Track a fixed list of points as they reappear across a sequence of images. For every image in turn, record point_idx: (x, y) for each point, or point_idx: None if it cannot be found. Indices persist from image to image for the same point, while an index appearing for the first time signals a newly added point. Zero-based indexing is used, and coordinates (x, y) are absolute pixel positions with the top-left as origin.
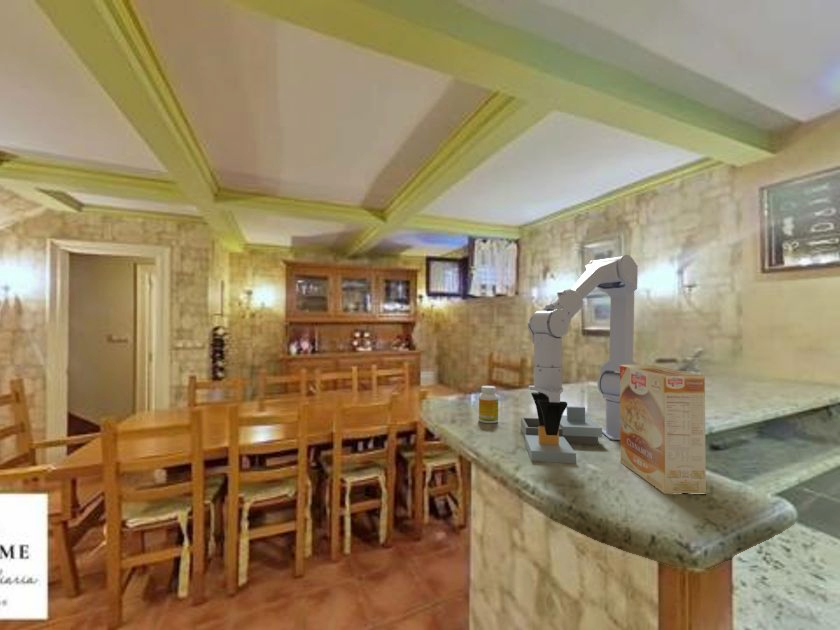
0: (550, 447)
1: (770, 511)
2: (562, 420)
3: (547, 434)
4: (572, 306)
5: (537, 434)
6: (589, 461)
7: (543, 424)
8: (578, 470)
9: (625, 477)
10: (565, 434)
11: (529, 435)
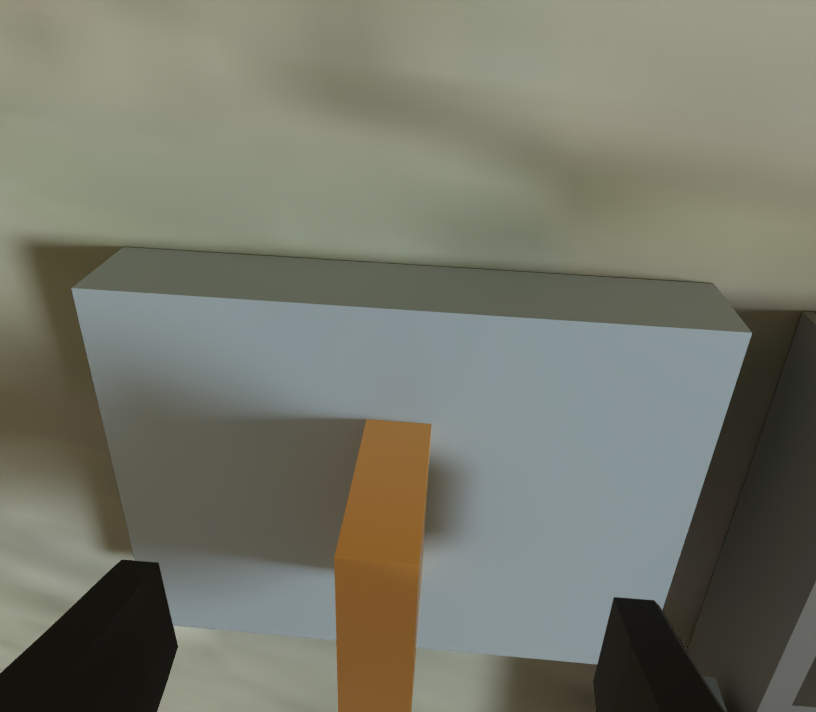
0: (260, 490)
1: None
2: None
3: (114, 570)
4: None
5: (800, 477)
6: (257, 639)
7: (606, 638)
8: (41, 534)
9: None
10: None
11: (715, 382)
